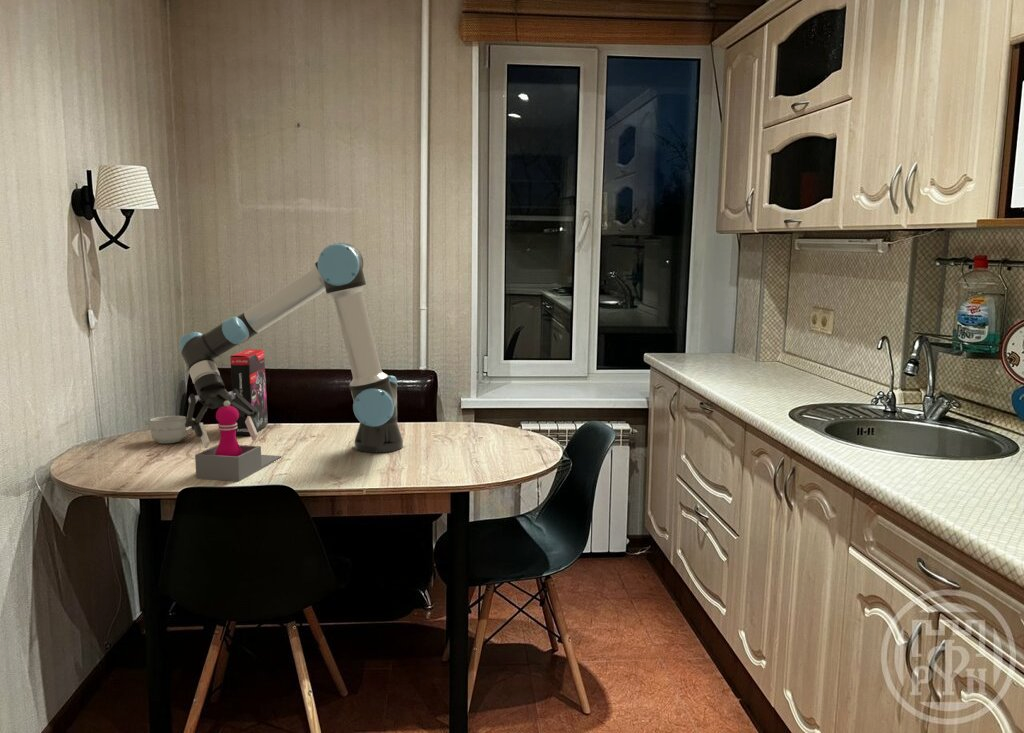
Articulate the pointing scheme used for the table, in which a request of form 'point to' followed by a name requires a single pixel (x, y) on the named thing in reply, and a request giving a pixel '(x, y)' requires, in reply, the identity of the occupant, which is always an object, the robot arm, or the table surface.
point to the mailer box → (231, 463)
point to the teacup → (169, 429)
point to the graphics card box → (250, 385)
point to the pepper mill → (228, 431)
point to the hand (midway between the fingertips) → (231, 441)
